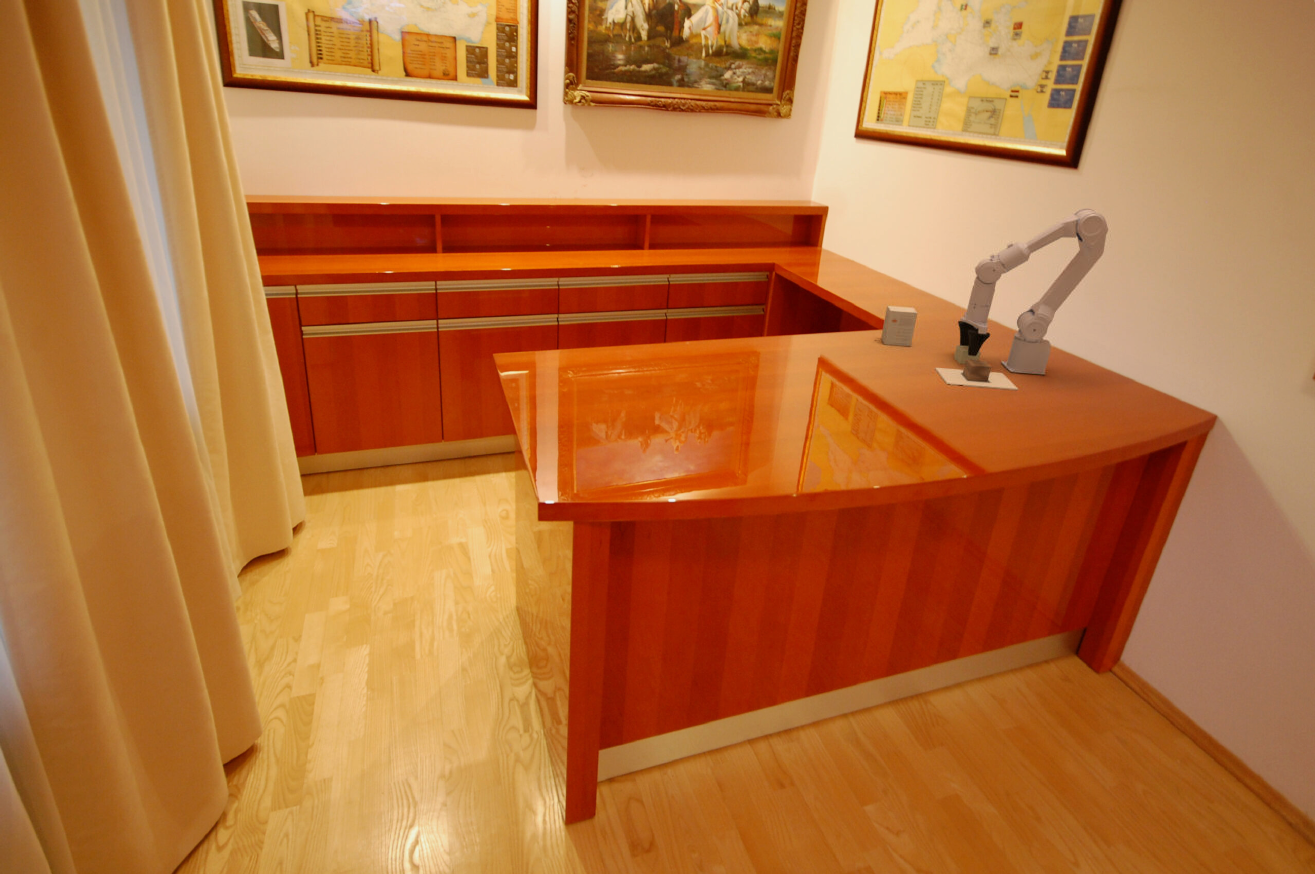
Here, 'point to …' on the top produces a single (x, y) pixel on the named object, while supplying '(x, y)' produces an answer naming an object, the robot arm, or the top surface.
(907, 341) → the small box
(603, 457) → the top surface
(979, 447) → the top surface
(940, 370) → the board
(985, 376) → the walnut block
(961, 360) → the sage block
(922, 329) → the top surface
